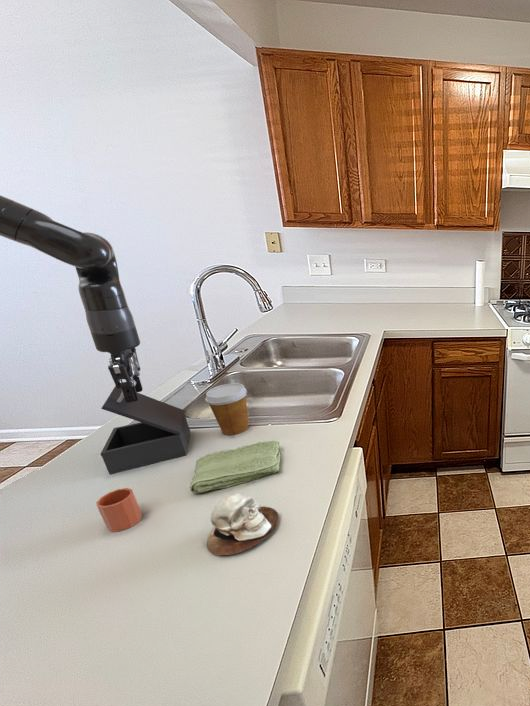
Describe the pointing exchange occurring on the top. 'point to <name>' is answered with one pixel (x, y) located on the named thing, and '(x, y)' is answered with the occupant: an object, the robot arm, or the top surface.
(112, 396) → the lid
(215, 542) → the skull
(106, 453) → the dark grey box
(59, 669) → the top surface
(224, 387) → the disposable coffee cup
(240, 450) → the washcloth
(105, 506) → the creamer cup
